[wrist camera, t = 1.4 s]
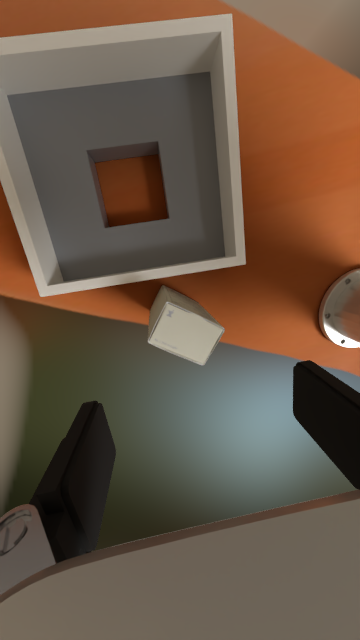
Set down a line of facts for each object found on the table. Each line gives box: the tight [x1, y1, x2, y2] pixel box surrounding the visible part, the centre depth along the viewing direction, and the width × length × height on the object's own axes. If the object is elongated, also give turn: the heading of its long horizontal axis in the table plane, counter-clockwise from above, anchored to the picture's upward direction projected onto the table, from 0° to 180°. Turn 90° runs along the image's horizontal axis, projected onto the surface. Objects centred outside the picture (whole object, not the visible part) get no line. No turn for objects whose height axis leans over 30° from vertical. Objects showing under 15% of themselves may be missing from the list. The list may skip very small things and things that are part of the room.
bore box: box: [0, 14, 246, 297], centre depth 23 cm, size 22×20×7 cm
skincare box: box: [148, 285, 225, 365], centre depth 25 cm, size 6×4×12 cm
